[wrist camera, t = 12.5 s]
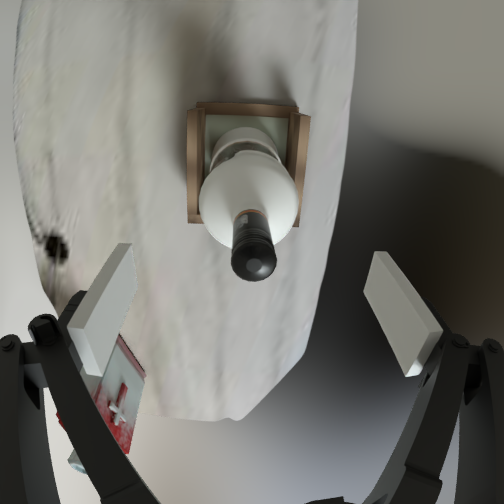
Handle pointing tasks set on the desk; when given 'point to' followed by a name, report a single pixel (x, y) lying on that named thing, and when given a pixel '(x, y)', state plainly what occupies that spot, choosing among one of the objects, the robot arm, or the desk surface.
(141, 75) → the desk surface
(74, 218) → the desk surface
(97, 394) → the bottle
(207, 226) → the vodka
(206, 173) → the wooden box
